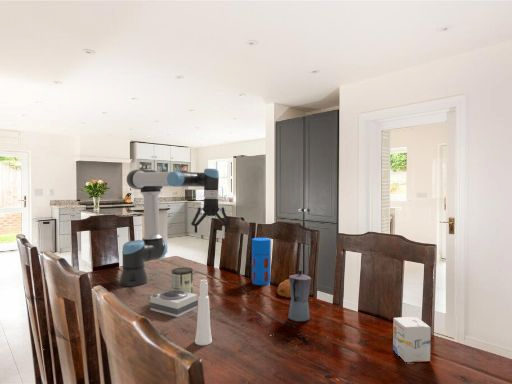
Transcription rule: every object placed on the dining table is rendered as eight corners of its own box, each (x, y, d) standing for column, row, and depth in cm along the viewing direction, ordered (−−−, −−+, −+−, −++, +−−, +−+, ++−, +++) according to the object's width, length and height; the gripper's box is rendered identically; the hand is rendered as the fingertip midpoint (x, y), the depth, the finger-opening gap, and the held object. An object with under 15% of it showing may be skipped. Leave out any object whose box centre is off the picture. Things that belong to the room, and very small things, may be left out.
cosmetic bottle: (202, 336, 127) (202, 277, 126) (215, 340, 124) (215, 279, 123) (191, 343, 121) (191, 280, 121) (204, 347, 118) (205, 283, 118)
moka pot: (313, 313, 150) (313, 268, 149) (306, 327, 135) (307, 276, 135) (292, 311, 153) (292, 266, 152) (283, 324, 138) (283, 274, 138)
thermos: (271, 280, 203) (271, 237, 202) (270, 285, 192) (270, 240, 191) (252, 279, 204) (252, 237, 203) (250, 284, 193) (250, 240, 192)
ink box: (392, 351, 116) (392, 316, 116) (416, 350, 117) (416, 315, 117) (405, 364, 108) (405, 327, 108) (431, 363, 108) (431, 326, 108)
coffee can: (180, 293, 176) (180, 266, 176) (196, 296, 172) (197, 268, 172) (167, 299, 167) (167, 270, 167) (184, 302, 163) (184, 273, 163)
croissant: (288, 292, 188) (287, 277, 189) (311, 294, 177) (310, 278, 177) (270, 297, 178) (269, 281, 178) (293, 300, 167) (292, 283, 167)
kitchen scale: (150, 309, 153) (150, 294, 153) (171, 301, 165) (171, 287, 165) (177, 317, 145) (177, 300, 145) (197, 307, 157) (197, 292, 156)
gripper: (187, 198, 173) (187, 240, 173) (236, 198, 180) (235, 238, 181) (186, 197, 180) (185, 238, 180) (232, 197, 188) (231, 236, 188)
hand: (210, 238), depth 181 cm, fingers open, 13 cm apart
